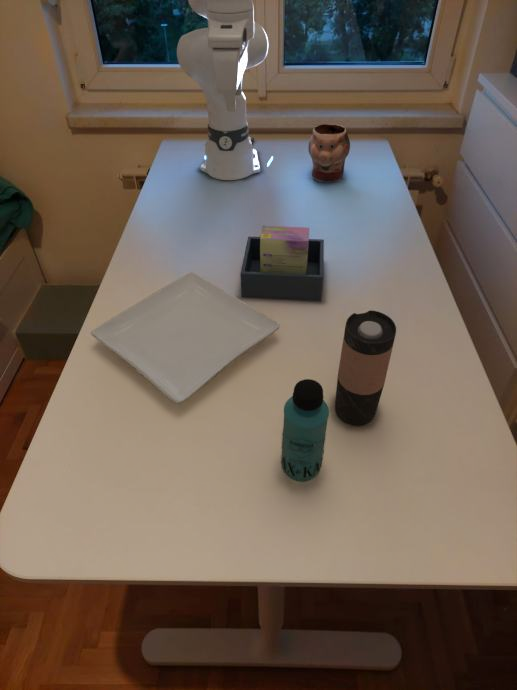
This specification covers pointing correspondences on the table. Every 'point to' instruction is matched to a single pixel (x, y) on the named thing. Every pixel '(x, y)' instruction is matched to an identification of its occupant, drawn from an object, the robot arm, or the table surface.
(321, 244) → the bin
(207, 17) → the robot arm
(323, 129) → the decorative planter
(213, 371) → the square plate
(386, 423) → the table surface
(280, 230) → the box
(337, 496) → the table surface
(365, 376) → the travel mug
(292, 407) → the beverage bottle
